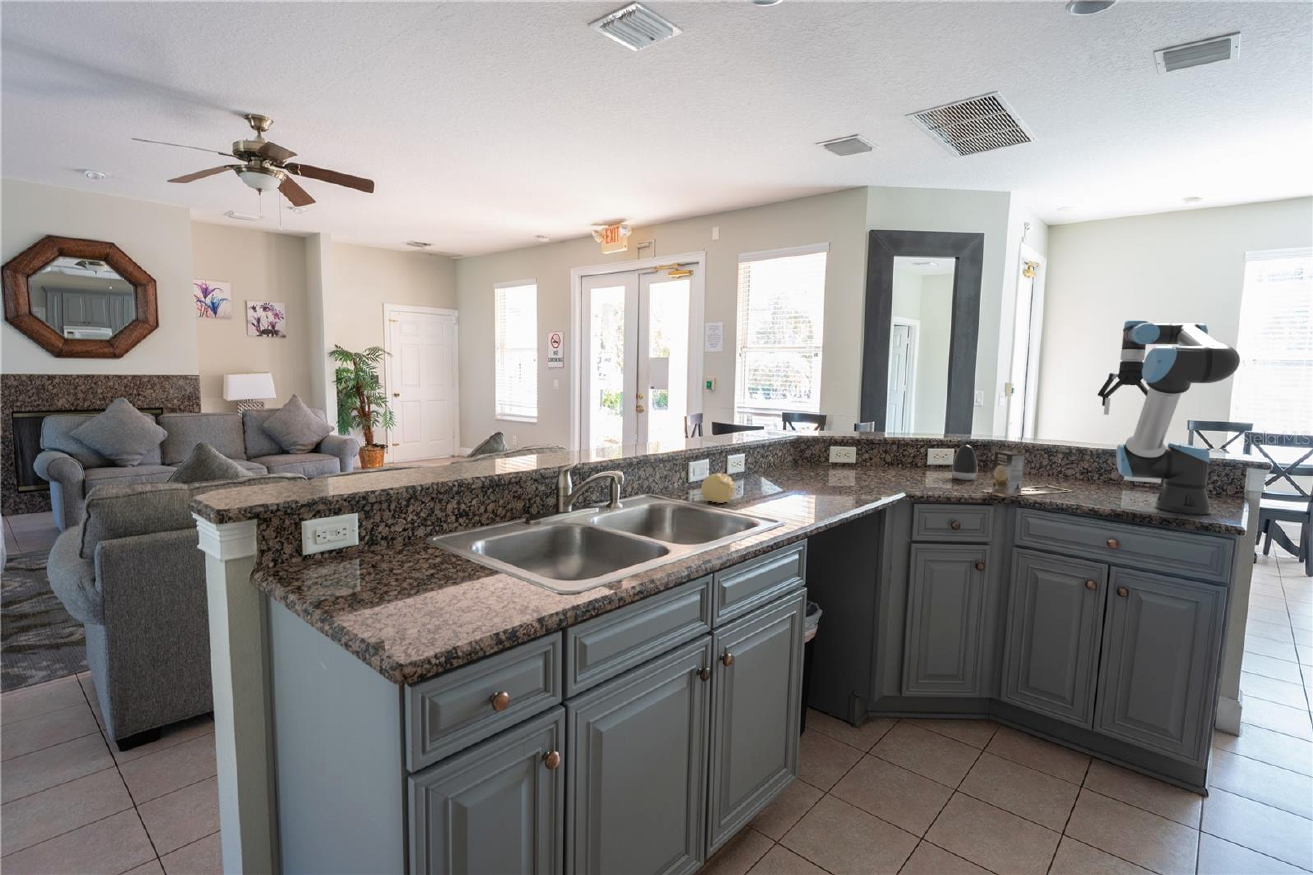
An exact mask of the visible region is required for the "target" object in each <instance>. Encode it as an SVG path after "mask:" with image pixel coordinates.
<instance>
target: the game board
mask: <svg viewBox="0 0 1313 875" xmlns="http://www.w3.org/2000/svg"><path fill="white" fill-rule="evenodd" d="M1045 486H1048V487H1047V488H1051V487H1052V488H1051V489H1055V488H1056V490H1061V491H1048V490H1047V491H1046V490H1042V489H1039V488H1046V487H1045ZM1035 487H1039V488H1035ZM1022 490H1025V491H1022ZM1026 490H1030V491H1026ZM1032 490H1034V491H1032ZM1035 490H1039V491H1035ZM1065 490H1068V491H1065ZM983 491H984V493H987V492H989V493H988V494H991V493H992V495H995V496H999V497H1004V498H1011V496H1014V497H1018V496H1017V495H1006V494H1002V493H999V492H996V491H992V488H991V489H982V490H981V492H983ZM1061 492H1067V493H1074V490H1071V489H1065V488H1061V487H1056V486H1053V485H1037V486H1036V485H1034V486H1023V487H1022V488H1021V494H1020V495H1028V496H1038V495H1039V496H1040V495H1049V494H1050V493H1054V494H1062V493H1061ZM1050 495H1051V494H1050Z"/></svg>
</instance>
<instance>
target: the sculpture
mask: <svg viewBox="0 0 1313 875" xmlns="http://www.w3.org/2000/svg"><path fill="white" fill-rule="evenodd" d="M734 482H735V481H733V478H732V477H731V476H728V474H727V473H722V472H721V473H720V472H716V473H713V474H710V475H708V476H706V477H705V478H704V480H703V482H702V484H701V489H700V490H701V491H700V492H701V496H702V499H703V500H704V499H706V500H709V501H713V502H723V503H724V502H727V503H729V502H730V501H731V500H732V499H733V497H734V495H735V490H736V488H735V483H734ZM713 502H712V503H713ZM724 504H725V503H724Z"/></svg>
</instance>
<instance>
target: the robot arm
mask: <svg viewBox="0 0 1313 875" xmlns="http://www.w3.org/2000/svg"><path fill="white" fill-rule="evenodd" d="M1122 332H1123V334H1122V342H1121V351H1120V362H1119V369H1118V373H1114V372H1110V373H1109V374H1108V378H1107V380H1105V383H1104V384H1103V386H1102V387H1101V388H1100V390H1099V391H1098V393H1097V397H1101V398H1102V401H1101V402H1102V403H1101V404H1102V407H1104V408H1103V415H1104V416H1105V415H1107V416H1108V415H1109V414H1110V407H1111V398H1109V397H1110V396H1111V395H1113V394H1114V393H1115V392H1116V391H1117V390H1118V389H1119V388H1120V387H1121V386H1137V387H1138V388H1139V390H1140V391H1141V392H1142V393H1143V395H1144V396H1145V399H1144V404H1143V406H1142V408H1141V411H1140V415H1139V418H1138V420H1137V423H1136V427H1135V430H1134V433H1133V435H1132V436H1130V437H1128V438H1127V439H1126V441H1125V444H1123V443H1121V444H1120V443H1119V444H1118V445H1117V447H1116V453H1115V455H1116V456H1115V458H1116V467H1117V471H1118V473H1119V474H1120V476H1122V477H1127V478H1141V479H1155V480H1164V482H1163V483H1164V484H1163V487H1162V489H1161V491H1160V493H1159V495H1158V496H1157V498H1156V500H1155V508H1156V509H1160V510H1164V511H1168V512H1173V513H1178V514H1188V515H1209V514H1210V513H1211V504H1210V501H1209V497H1208V494H1207V483H1208V474H1209V467H1210V463H1211V461H1210V456H1211V455H1210V451H1209V450H1208V449H1207V448H1204V447H1201V446H1196V445H1189V444H1184V443H1178V442H1168V444H1167V446H1166V445H1165V443H1164V440H1165V438H1166V435H1167V432H1168V430H1169V427H1170V425H1171V422H1172V419H1173V416H1174V415H1175V411H1176V409H1177V405H1178V403H1179V400H1180V398H1181V395H1182V394H1184V393H1186V392H1188V390H1189V389H1190V387H1191V384H1213V383H1216V382H1221V381H1223V380H1225V379H1227V378H1228V377H1230V376H1232V375H1233V374H1234V373H1235V372H1236V371H1237V370H1238V368H1239V366H1240V363H1241V359H1240V358H1241V357H1240V355H1239V353H1238V351H1237V350H1236V349H1235V348H1233V347H1232V346H1231V345H1229V344H1226V343H1220V342H1218V341H1217V340H1215V339H1214V338H1213V337H1211V335H1209V334H1208V332H1209V330H1208V326H1207V325H1206V324H1204V323H1197V322H1191V323H1189V322H1188V323H1152V322H1148V320H1145V319H1133V320H1126V321H1124V326H1123V329H1122ZM1147 345H1162V346H1156V347H1153V348H1152V349H1151V350H1150V351H1148V352H1147V355H1146V347H1147ZM1174 345H1175V346H1174ZM1116 379H1118V381H1116V382H1115V384H1114V385H1113V386H1111V385H1112V384H1113V382H1114V380H1116ZM1142 380H1143V381H1144V382H1145V384H1146V386H1147V387H1148V388H1147V387H1146V386H1145V385H1144V383H1143V381H1142ZM1110 386H1111V387H1110ZM1109 388H1110V389H1109ZM1108 389H1109V390H1108Z"/></svg>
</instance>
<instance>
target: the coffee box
mask: <svg viewBox="0 0 1313 875" xmlns="http://www.w3.org/2000/svg"><path fill="white" fill-rule="evenodd" d="M1024 465H1025V454H1024V453H1020V452H1016V451H1012V450H1011V451H1010V450H995V451H994V459H993V472H992V473H993V474H992V484H991V489H992V491H996V492H999V493H1002V494H1006V495H1020V494H1021V488H1022V486H1023V475H1024Z"/></svg>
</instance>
